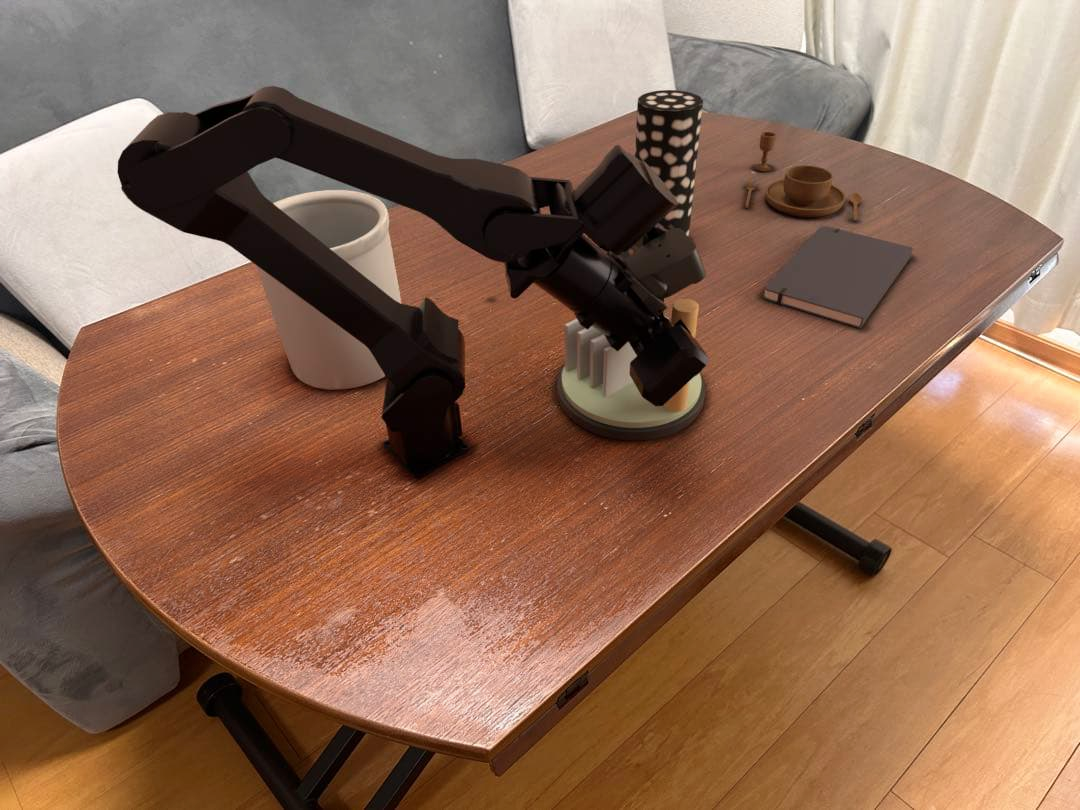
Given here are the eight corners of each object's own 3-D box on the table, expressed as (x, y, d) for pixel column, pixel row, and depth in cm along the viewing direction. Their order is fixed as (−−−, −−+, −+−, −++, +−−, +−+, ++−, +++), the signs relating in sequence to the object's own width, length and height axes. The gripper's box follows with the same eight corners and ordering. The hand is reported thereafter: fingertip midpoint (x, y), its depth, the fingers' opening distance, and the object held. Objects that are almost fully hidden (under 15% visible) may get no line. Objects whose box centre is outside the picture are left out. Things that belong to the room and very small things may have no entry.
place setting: (740, 214, 116) (746, 176, 112) (751, 164, 131) (757, 130, 127) (861, 226, 112) (871, 188, 108) (858, 173, 127) (867, 138, 123)
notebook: (860, 329, 91) (910, 257, 104) (863, 318, 90) (913, 247, 103) (760, 298, 97) (819, 234, 110) (762, 288, 96) (821, 224, 109)
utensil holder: (284, 405, 83) (240, 262, 71) (283, 333, 94) (244, 199, 83) (419, 381, 85) (396, 239, 74) (402, 313, 97) (379, 181, 85)
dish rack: (630, 449, 74) (638, 341, 66) (533, 379, 83) (529, 277, 75) (729, 386, 81) (747, 282, 73) (630, 328, 90) (636, 230, 82)
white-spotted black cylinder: (621, 248, 108) (627, 105, 96) (642, 224, 114) (651, 87, 101) (676, 260, 105) (690, 114, 93) (696, 235, 111) (711, 94, 98)
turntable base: (630, 463, 74) (630, 454, 73) (527, 388, 84) (527, 379, 83) (734, 395, 82) (736, 386, 81) (629, 334, 92) (630, 325, 91)
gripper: (697, 264, 56) (803, 360, 65) (617, 169, 70) (713, 259, 79) (593, 366, 60) (707, 444, 69) (537, 257, 74) (638, 333, 83)
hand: (692, 362), depth 75 cm, fingers open, 3 cm apart
